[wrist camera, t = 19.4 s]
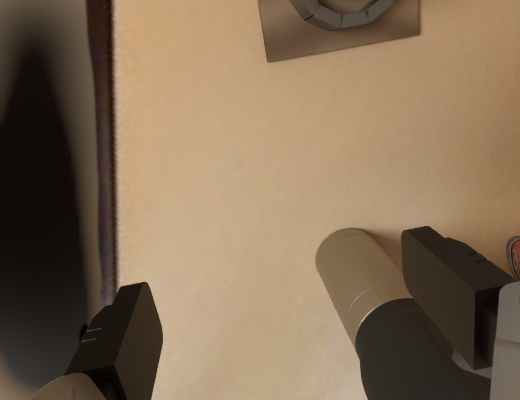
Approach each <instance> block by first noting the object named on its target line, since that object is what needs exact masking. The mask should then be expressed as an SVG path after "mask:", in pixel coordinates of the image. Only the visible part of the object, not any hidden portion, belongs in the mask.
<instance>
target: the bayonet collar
mask: <svg viewBox="0 0 520 400" xmlns="http://www.w3.org/2000/svg"><path fill="white" fill-rule="evenodd" d="M289 1H290V3H291V4H292V5H293V7H294V8H295V10H296V11H297V12H298V14H299V15H300V17H301V18H302V19H303V20H304V19H305V22H307V23H310V24H312V25H314V26H317V27H319V28H321V29H324V30H326V31H336V30H341V29H347V28H352V27H357V26H360V25H364V24H367V23H370V22H372V21H373V20H374V19H375V18H376V17H377V16H379V15H380V14H381V13H382V12H383V11H384V10H386V9H387V8H388V7H389V6H390V5H391V4H393V3H394V1H395V0H370V1H369V2H368V3H367V4H366V5H364V6H363V7H362V8H361V9H360V10H359V11H358V12H356V13H351V14H345V15H341V14H339V13H336V12H334V11H332V10H330V9H327V8H325V7H323V6H321V5H319V3H318V2H317V0H289Z"/></svg>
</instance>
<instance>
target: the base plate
mask: <svg viewBox="0 0 520 400" xmlns="http://www.w3.org/2000/svg"><path fill="white" fill-rule="evenodd" d="M369 1H370V0H317V2H318V3H319V5H321V6H323V7H325V8H327V9H330V10H332V11H334V12H336V13H339V14H341V15H345V14H351V13H356V12H358V11H359V10H360V9H361V8H362V7H363V6H364V5H366V4H367V3H368V2H369ZM258 6H259V12H260V19H261V25H262V31H263V38H264V44H265V51H266V57H267V62H272V61H277V60H282V59H288V58H293V57H299V56H304V55H310V54H315V53H321V52H326V51H332V50H337V49H342V48H348V47H353V46H359V45H364V44H370V43H375V42H381V41H386V40H392V39H397V38H403V37H408V36H413V35H419V16H418V0H395V1H394V3H393V4H391V5H390V6H389V7H388V8H387V9H386V10H384V11H383V12H382V13H381V14H380V15H379V16H377V17H376V18H375V19H374V20H373V21H372V22H370V23H367V24H364V25H360V26H357V27H352V28H347V29H341V30H336V31H326V30H324V29H321V28H319V27H317V26H314V25H312V24H310V23H307V22H305V19H304V20H303V19H302V18H301V17H300V15H299V14H298V12H297V11H296V10H295V8H294V7H293V5H292V4H291V3H290V1H289V0H258Z"/></svg>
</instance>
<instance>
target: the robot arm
mask: <svg viewBox="0 0 520 400" xmlns="http://www.w3.org/2000/svg"><path fill="white" fill-rule="evenodd" d="M401 243H402V262H403V272H402V270H401V269H400V268H399V267H398V266H397V265H396V264H395V263H394V261H393V260H392V259H391V258H390V257H389V256H388V255H387V253H386V252H385V251H384V250H383V249H382V248H381V247H380V245H379V244H378V243H377V242H376V241H375V240H374V239H373V238H372V237H371V236H370V235H369V234H368V233H366V232H364V231H362V230H359V229H343V230H340V231H337V232H335V233H333V234H331V235H330V236H329V237H328V238H326V239H325V240H324V242H323V243H322V244H321V246H320V247H319V249H318V252H317V255H316V267H317V270H318V272H319V274H320V277H321V279H322V281H323V283H324V285H325V287H326V290H327V292H328V294H329V296H330V298H331V300H332V302H333V304H334V306H335V309H336V311H337V313H338V315H339V317H340V319H341V321H342V323H343V326H344V328H345V330H346V332H347V334H348V336H349V338H350V340H351V342H352V344H353V346H354V348H355V351H356V353H357V355H358V357H359V359H360V369H361V378H362V383H363V387H364V390H365V393H366V396H367V398H368V400H520V282H518V281H516V280H515V279H514V278H512V277H511V276H510V275H508V274H507V273H505V272H504V271H503V270H501V269H500V268H498V267H497V266H496V265H494V264H493V263H492V262H490V261H487V259H486V258H485V257H483V256H482V255H481V254H477V252H476V251H475V250H474V249H472V248H471V247H470V246H468V245H467V244H465V243H463V242H460V241H457V240H454V239H452V238H444V237H442V236H441V235H440V234H439V233H437V232H436V231H435V230H433V229H432V228H431V227H429V226H424V227H419V228H414V229H409V230H404V231H403V232H402V235H401ZM162 344H163V332H162V326H161V322H160V319H159V316H158V313H157V309H156V306H155V303H154V300H153V296H152V293H151V290H150V287H149V285H148V283H147V282H141V283H136V284H131V285H126V286H121V287H120V289H119V291H118V293H117V295H116V297H115V300H114V302H113V304H112V305H108V306H105V307H104V308H103V309H102V310H101V311H100V312H99V313H98V314H97V315H96V316H95V317H94V318H93V319H92V321H91V323H90V325H89V327H88V329H87V333H85V335H84V337H83V339H82V343H80V345H79V347H78V349H77V351H76V353H75V355H74V357H73V358H72V360H71V362H70V364H69V367H68V368H67V370H66V372H65V374H64V376H63V377H60V378H58V379H56V380H54V381H52V382H50V383H49V384H47V385H46V386H44V387H43V388H42V389H41V390H39V391H38V392H37V393H36V394H35V395H34V397H33V398H32V399H31V400H151V397H152V392H153V387H154V383H155V378H156V373H157V368H158V364H159V359H160V354H161V349H162ZM454 348H455V349H456V350H457V351H458V352H459V354H460V355H461V356H462V357H463V358H464V360H465V361H466V362H467V363H468V364H469V366H470V367H471V368H472V369H473V370H479V369H484V368H488V367H492V379H490V378H487V377H484V376H482V375H479V374H476V373H473V372H470V371H467V370H464V369H462V368H460V367H459V366H458V365H457V364H456V363H455V362H454V361H453V359H452V356H453V353H454Z"/></svg>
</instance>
